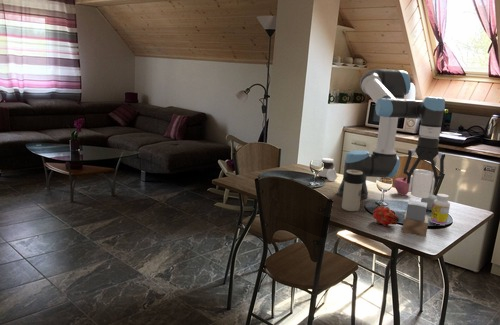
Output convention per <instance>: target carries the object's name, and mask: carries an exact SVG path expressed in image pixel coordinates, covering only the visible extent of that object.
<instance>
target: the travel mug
mask: <svg viewBox="0 0 500 325" xmlns="http://www.w3.org/2000/svg"><path fill="white" fill-rule="evenodd" d="M346 172H347V175H346V177H345V182H344V191H343V197H342V202H341V208H342V209H343V210H345V211H348V212H358V211H359V210H360V204H361V199H360V198H361V190H362V182H363V179H362V174H363V172H361V171H358V170H347V171H346Z"/></svg>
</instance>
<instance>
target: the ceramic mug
mask: <svg viewBox="0 0 500 325" xmlns="http://www.w3.org/2000/svg"><path fill="white" fill-rule="evenodd" d="M436 199H437V195H435V194H433V196H431V195H429V197H428V198H421V199H420V202H425V203H427V208H426V210H429V211H430V210H431V211H430V212H432V208H433V202H434V200H436Z"/></svg>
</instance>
